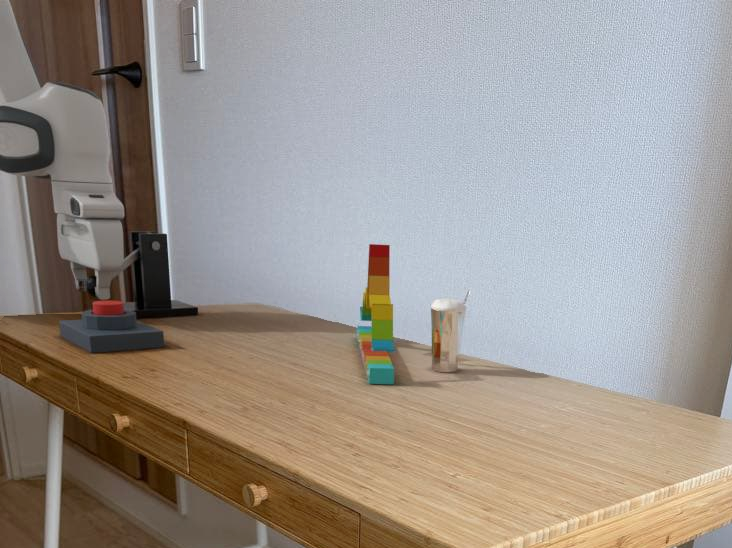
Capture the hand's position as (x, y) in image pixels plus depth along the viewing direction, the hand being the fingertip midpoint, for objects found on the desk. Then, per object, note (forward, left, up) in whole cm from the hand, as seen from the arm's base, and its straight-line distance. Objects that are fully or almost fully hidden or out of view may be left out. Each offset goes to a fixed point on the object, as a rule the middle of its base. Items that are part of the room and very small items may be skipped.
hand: (92, 294), depth 134 cm
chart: (+47, +22, -4) cm, 52 cm away
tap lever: (0, +6, +3) cm, 7 cm away
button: (+22, -5, 0) cm, 23 cm away
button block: (+22, -5, -3) cm, 23 cm away
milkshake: (+57, +27, -4) cm, 63 cm away
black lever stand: (0, +10, -3) cm, 10 cm away
